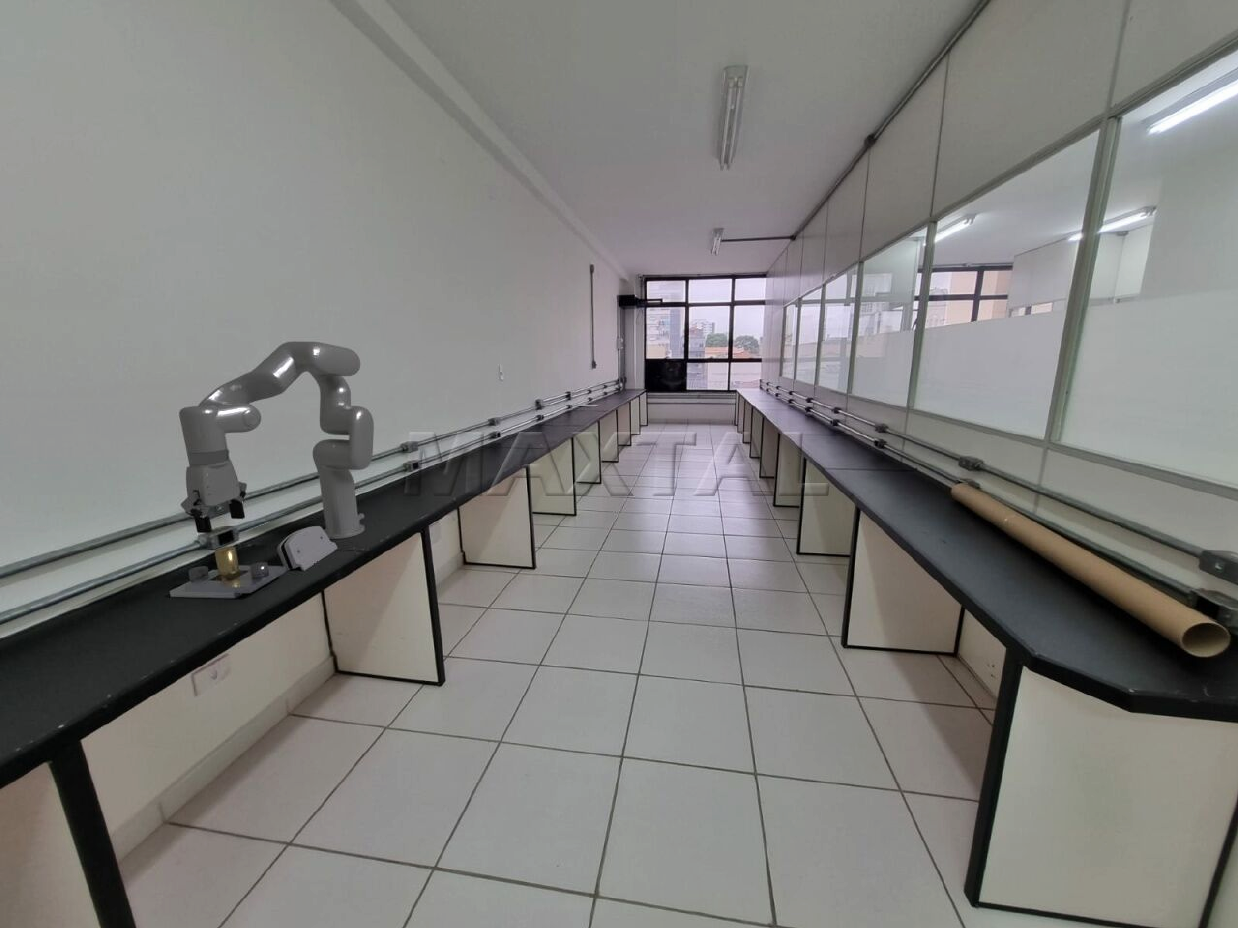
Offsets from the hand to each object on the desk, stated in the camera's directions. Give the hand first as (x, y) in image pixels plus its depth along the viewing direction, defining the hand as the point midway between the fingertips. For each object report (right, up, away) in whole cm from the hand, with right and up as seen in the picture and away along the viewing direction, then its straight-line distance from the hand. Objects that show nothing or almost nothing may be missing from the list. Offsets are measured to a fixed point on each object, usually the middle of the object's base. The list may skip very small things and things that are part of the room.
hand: (222, 525), depth 118 cm
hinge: (+8, -13, +20) cm, 25 cm away
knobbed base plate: (0, -16, +3) cm, 16 cm away
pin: (0, -16, +3) cm, 16 cm away
